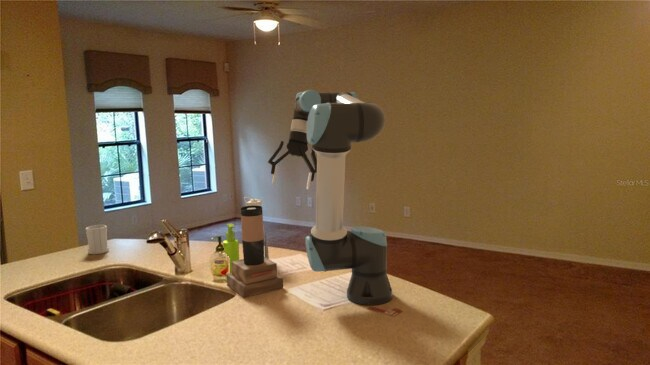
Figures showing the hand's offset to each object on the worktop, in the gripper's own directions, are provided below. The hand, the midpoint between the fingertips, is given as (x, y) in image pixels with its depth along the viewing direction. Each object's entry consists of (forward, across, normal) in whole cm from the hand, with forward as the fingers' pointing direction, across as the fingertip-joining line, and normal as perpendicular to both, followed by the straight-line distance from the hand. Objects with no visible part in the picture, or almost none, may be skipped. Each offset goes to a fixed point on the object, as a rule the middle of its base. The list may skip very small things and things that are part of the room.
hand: (290, 186), depth 180 cm
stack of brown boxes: (+38, +8, +6) cm, 40 cm away
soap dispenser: (+37, +15, -10) cm, 41 cm away
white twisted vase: (+32, +5, -24) cm, 41 cm away
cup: (+42, +76, -61) cm, 106 cm away
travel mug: (+30, +10, +8) cm, 33 cm away
